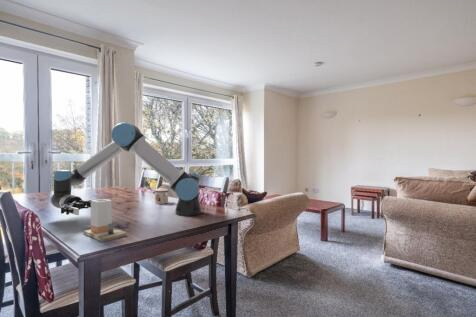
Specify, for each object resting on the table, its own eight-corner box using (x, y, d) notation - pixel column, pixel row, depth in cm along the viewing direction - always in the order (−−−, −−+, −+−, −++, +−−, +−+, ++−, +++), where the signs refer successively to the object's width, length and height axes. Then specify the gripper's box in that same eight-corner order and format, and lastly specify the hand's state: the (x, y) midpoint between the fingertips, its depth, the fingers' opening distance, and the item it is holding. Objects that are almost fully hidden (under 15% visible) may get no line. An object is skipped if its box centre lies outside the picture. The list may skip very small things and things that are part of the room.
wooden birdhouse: (152, 202, 189) (152, 186, 189) (164, 201, 196) (164, 185, 195) (161, 205, 181) (161, 187, 180) (173, 203, 187) (173, 186, 187)
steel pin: (114, 232, 115) (114, 223, 115) (112, 234, 113) (112, 224, 113) (109, 232, 115) (109, 223, 115) (107, 234, 113) (107, 224, 113)
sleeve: (111, 229, 120) (111, 200, 119) (97, 233, 115) (98, 202, 114) (104, 227, 123) (104, 198, 123) (90, 230, 118) (90, 200, 118)
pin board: (126, 235, 117) (126, 232, 116) (103, 241, 108) (103, 238, 108) (106, 229, 126) (106, 225, 126) (83, 234, 118) (83, 230, 118)
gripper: (96, 206, 144) (120, 212, 132) (41, 215, 124) (63, 223, 111) (96, 192, 144) (120, 197, 132) (41, 199, 123) (63, 205, 111)
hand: (94, 209), depth 122 cm, fingers open, 13 cm apart
